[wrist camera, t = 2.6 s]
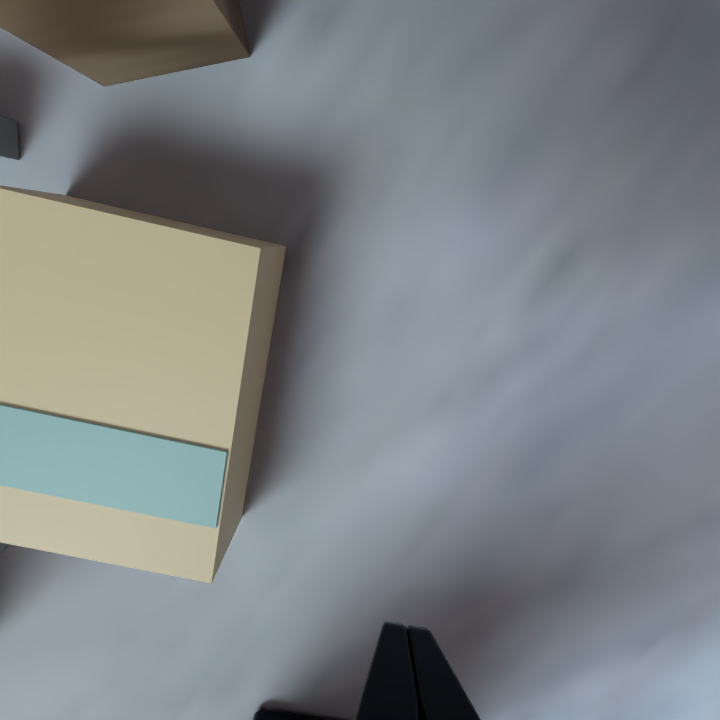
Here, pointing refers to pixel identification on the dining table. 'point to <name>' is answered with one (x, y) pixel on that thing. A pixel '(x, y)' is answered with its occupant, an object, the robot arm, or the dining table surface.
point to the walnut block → (129, 34)
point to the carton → (128, 381)
